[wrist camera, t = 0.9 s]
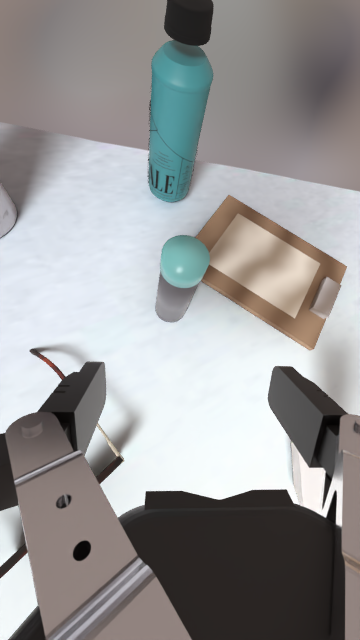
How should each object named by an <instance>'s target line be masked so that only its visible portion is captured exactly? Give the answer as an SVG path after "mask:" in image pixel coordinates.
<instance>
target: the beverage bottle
mask: <svg viewBox="0 0 360 640" xmlns="http://www.w3.org/2000/svg"><path fill="white" fill-rule="evenodd" d="M212 15H213V2H212V0H167V9H166V15H165V23H164V24H165V25H164V29H165V31H166V33H167V34H168V35H169V36H170V37H171V38H172V39H174V40H173V41H169V42H167V43H165V44H164V45H163V46H162V47H161V48H160V49H159V50H158V51H157V52H156V53H155V55H154V57H153V59H152V65H151V66H152V93H151V101H150V102H151V104H150V106H151V110H150V111H151V112H150V114H151V117H150V130H149V131H150V138H149V139H150V141H149V142H150V151H149V153H148V155H149V159H148V160H149V172H148V173H149V175H148V176H149V178H148V179H149V181H148V183H149V187H150V190H151V192H152V193H153V194H154V195H155V196H156V197H157V198H159V199H161V200H163V201H168V202H175V201H179V200H181V199H182V198H184V197H185V195H186V194H187V192H188V190H189V185H190V181H191V179H192V178H191V176H192V172H193V171H194V170H193V166H194V162H195V156H196V151H197V145H198V140H199V136H200V132H201V126H202V122H203V118H204V113H205V108H206V104H207V99H208V94H209V90H210V86H211V83H212V80H213V70H212V68H211V65H210V63H209V61H208V58H207V56H206V55H205V53H204V51H203V50H202V49H201V48H200V47H198V46H200V45H204V44H206V43H207V42H208V41H209V39H210V34H211V23H212Z"/></svg>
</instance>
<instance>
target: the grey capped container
mask: <svg viewBox="0 0 360 640" xmlns="http://www.w3.org/2000/svg"><path fill="white" fill-rule="evenodd" d="M209 262H210V255H209V252H208V249H207V248H206V246H205V245H204V244H203V243H202V242H201V241H200V240H198V239H196V238H194V237H191V236H187V235H180V236H175V237H173V238H171V239H169V240H168V241H167V242H166V243H165V244H164V246H163V249H162V254H161V262H160V277H159V284H158V291H157V298H156V306H155V310H156V313H157V315H158V316H159V318H161V319H162V320H164V321H166V322H176V321H178V320H180V319H181V318H182V317H183V316H184V314H185V311H186V309H187V307H188V305H189V303H190V301H191V299H192V297H193V295H194V292H195V290H196V288H197V286H198V284H199V282H200V281H201V280H202V278H203V276H204V274H205V272H206V270H207V268H208V265H209Z"/></svg>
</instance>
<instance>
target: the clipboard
mask: <svg viewBox="0 0 360 640" xmlns="http://www.w3.org/2000/svg"><path fill="white" fill-rule="evenodd" d="M195 238H196V239H198V240H200V241H201V242H202V243H203V244H204V245H205V246H206V248H207V249H208V252H209V255H210V262H209V265H208V268H207V270H206V272H205V274H204V276H203V278H202V280H201V281H202V282H203V283H205V284H207V285H208V286H210V287H211V288H213V289H214V290H216V291H218V292H219V293H221V294H222V295H224V296H225V297H227V298H228V299H230V300H232V301H233V302H235V303H236V304H238V305H239V306H241V307H243V308H244V309H246V310H247V311H249V312H250V313H252V314H254V315H255V316H257V317H258V318H260V319H261V320H263V321H265V322H266V323H268V324H269V325H271V326H272V327H274V328H275V329H277V330H279V331H280V332H282V333H283V334H285V335H286V336H288V337H290V338H291V339H293V340H294V341H296V342H297V343H299V344H301V345H302V346H304V347H305V348H307V349H308V350H313V349H314V347H315V345H316V342H317V340H318V337H319V335H320V333H321V330H322V328H323V325H324V323H325V320H326V318H327V317H329V315H330V312H331V310H332V307H333V305H334V302H335V300H336V297H337V295H338V292H339V290H340V287H341V285H340V283H341V281H342V278H343V276H344V273H345V271H346V268H347V266H345V265H344V264H342V263H340V262H339V261H337V260H335V259H334V258H332V257H330V256H329V255H327V254H326V253H324V252H322V251H321V250H319V249H317V248H316V247H314V246H312V245H311V244H309V243H307V242H306V241H304V240H303V239H301V238H299V237H298V236H296V235H294V234H293V233H291V232H289V231H288V230H286V229H284V228H283V227H281V226H279V225H278V224H276V223H275V222H273V221H271V220H270V219H268V218H266V217H265V216H263V215H261V214H260V213H258V212H256V211H255V210H253V209H252V208H250V207H248V206H247V205H245V204H243V203H242V202H240V201H238V200H237V199H235V198H233V197H232V196H230V195H228V197H227V198H226V199H225V200H224V202H223V203H222V204H221V205H220V207H219V208H218V209H217V211H216V212H215V213H214V214H213V216H212V217H211V218H210V220H209V221H208V222H207V223H206V225H205V226H204V227H203V229H202V230H201V231H200V232H199V234H198V235H197V236H196V237H195Z"/></svg>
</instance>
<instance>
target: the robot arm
mask: <svg viewBox="0 0 360 640" xmlns="http://www.w3.org/2000/svg"><path fill="white" fill-rule="evenodd" d="M16 218H17V210H16V206H15V205H14V203H13V201H12V200H11V198H10V196H9V195H8V193H7V192H6V190H5V188H4V187H3V185H2V184H1V182H0V237H2V236H3V235H5V234H6V233H7V232H8V231H9V230H10V229H11V228H12V227H13V225H14V224H15V221H16ZM105 400H106V378H105V364H104V362H86V363H85V365H84V366H83V367H82V369H81V370H80V372H73V373H71V374H70V375H68V376H67V377H65V378H64V379H63V380H62V381H61V382H60V384H59V385H58V387H57V388H56V389H55V390H54V392H53V393H52V394H51V395H50V396H49V398H48V399H47V400H46V401H45V403H44V404H43V405H42V407H41V408H40V409H39V410H38V412H36V413H32V414H28V415H26V416H23V417H21V418H19V419H18V420H16V421H15V422H13V423H12V424H11V425H10V426H9V427H8V429H7V430H6V433H3V434H0V511H1V510H4V509H8V508H11V507H14V506H17V505H19V510H20V515H21V520H22V526H23V531H24V536H25V541H26V546H27V551H28V556H29V561H30V566H31V571H32V577H33V582H34V587H35V592H36V597H37V602H38V606H37V607H36V608H35V609H34V611H33V612H32V613H31V614H30V615H29V616H28V617H27V619H26V620H25V621H24V622H23V623H22V624H21V626H20V627H19V628H18V629H17V630H16V631H15V632H14V634H13V635H12V636H11V637H10V638H9V639H8V640H360V416H357V415H351V414H348V413H346V412H345V411H344V410H343V409H342V408H341V407H340V406H339V405H338V404H337V403H336V402H334V401H333V400H332V399H331V398H330V397H328V395H327V394H326V393H325V392H323V391H322V390H321V389H320V388H319V387H318V386H317V385H316V384H315V383H313V382H312V381H310V380H308V379H306V378H304V377H303V376H302V375H300V374H299V373H298V372H297V371H296V370H295V369H294V368H293V367H290V366H275V367H274V368H273V371H272V376H271V382H270V387H269V393H268V402H269V406H270V408H271V410H272V411H273V413H274V414H275V416H276V417H277V419H278V421H279V422H280V424H281V425H282V427H283V428H284V430H285V431H286V433H287V434H288V436H289V437H290V439H291V441H292V442H293V444H294V445H295V447H296V448H297V450H298V451H299V453H300V454H301V456H302V457H303V459H304V461H305V462H306V464H307V465H308V467H309V468H324V470H325V473H324V477H323V483H322V492H321V502H320V511H319V514H318V513H317V512H315V511H312V510H310V509H308V508H306V507H303V506H300V505H298V504H294V503H293V502H292V500H291V498H290V496H289V494H288V492H287V490H251V491H248V492H245V493H242V494H238V495H235V496H232V497H229V498H225V499H222V500H217V499H212V498H208V497H204V496H200V495H196V494H192V493H188V492H184V491H146V496H145V505H142V506H139V507H137V508H134V509H132V510H130V511H128V512H126V513H124V514H123V515H121V516H120V517H118V518H117V516H116V514H115V512H114V511H113V509H112V507H111V505H110V503H109V501H108V499H107V498H106V496H105V494H104V492H103V490H102V488H101V486H100V485H99V483H98V481H97V479H96V477H95V475H94V474H93V472H92V470H91V468H90V466H89V464H88V462H87V461H86V459H85V457H84V456H85V453H86V451H87V448H88V445H89V443H90V440H91V438H92V435H93V433H94V430H95V428H96V425H97V423H98V420H99V418H100V415H101V413H102V410H103V408H104V405H105Z"/></svg>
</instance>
